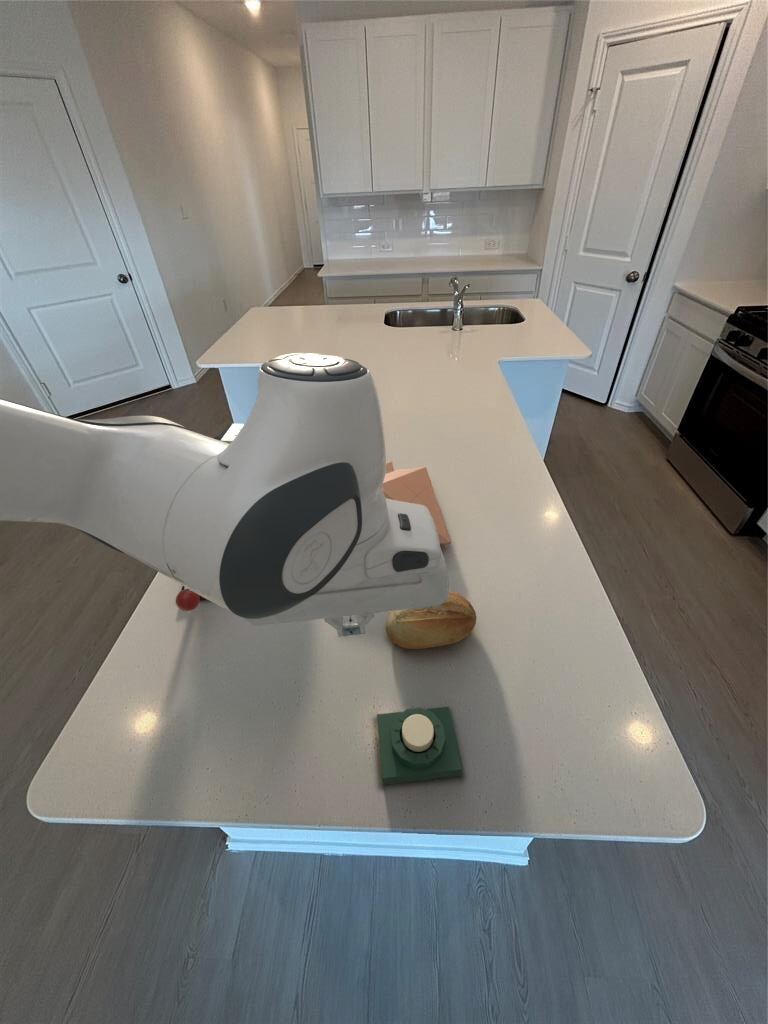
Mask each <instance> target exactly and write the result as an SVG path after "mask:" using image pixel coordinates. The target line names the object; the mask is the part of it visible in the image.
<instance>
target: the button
mask: <svg viewBox="0 0 768 1024" xmlns="http://www.w3.org/2000/svg"><path fill="white" fill-rule="evenodd" d="M433 735H434V728H433V725H432V723H431V721H430V720H429V719H428V718H427V717H425V716H424V715H420V714H414V715H411V716H409V717H408V718H407V719H406V720H405V721H404V723H403V726H402V739H403V742H404V744H405V745H406V747H407V748H409V749H410V750H412V751H415V752H422V751H425V750H427V749H428V748H429V747H430V746H431V744H432V742H433Z"/></svg>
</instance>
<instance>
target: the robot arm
mask: <svg viewBox="0 0 768 1024" xmlns="http://www.w3.org/2000/svg"><path fill="white" fill-rule="evenodd" d="M256 381H257V388H256V389H257V393H256V398H255V400H254V403H253V405H252V407H251V410H250V412H249V415H248V417H247V418H246V420H245V422H244V423H243V424H244V425H243V427H242V428H241V430H240V432H239V433H238V434H237V436H236V437H235V438H234V440H233V441H232V442H231V443H230V444H228V443H225V442H222V441H219V440H216V439H214V438H213V437H210V436H207V435H205V434H201V433H199V432H196V431H195V430H193V429H191V428H189V427H186V426H183V425H182V424H179V423H177V422H176V421H175V422H174V421H172V420H170V419H167V418H164V417H160V416H154V415H128V416H119V417H118V416H117V417H110V418H109V417H108V418H100V419H77V418H72V417H69V416H63V415H61V414H56V413H52V412H49V411H46V410H43V409H39V408H35V407H32V406H28V405H25V404H21V403H18V402H14V401H11V400H6V399H3V398H0V522H22V523H23V522H24V523H46V524H47V523H48V524H59V525H63V526H68V527H71V528H73V529H75V530H77V531H79V533H82V534H84V535H85V536H87V537H88V538H90V539H92V540H94V541H96V542H98V543H100V544H102V545H104V546H105V547H108V548H110V549H113V550H114V551H117V552H119V553H122V554H124V555H127V556H129V557H131V558H133V559H135V560H137V561H138V562H140V563H142V564H144V565H145V566H147V567H148V568H151V569H153V570H154V571H156V572H158V573H160V574H162V575H164V576H165V577H167V578H169V579H170V580H173V581H174V582H176V583H178V584H180V585H182V587H183V586H184V587H186V588H187V589H189V590H191V591H193V592H195V593H196V594H198V595H200V596H202V597H204V598H206V599H207V600H206V601H209V602H211V603H213V604H215V605H217V606H219V607H221V608H223V609H224V610H227V611H229V612H231V613H233V615H235V616H238V617H240V618H242V619H243V620H244V621H245V622H246V623H248V624H250V625H252V626H254V627H261V626H269V625H277V624H285V623H286V624H288V623H295V622H306V621H315V620H324V622H325V623H326V624H328V625H329V626H331V627H332V628H333V629H335V630H336V631H337V636H338V638H343V637H348V636H360V635H366V626H367V625H368V624H369V622H371V620H372V619H373V618H374V617H375V614H376V613H387V612H391V611H396V610H405V609H414V608H423V607H433V606H440V605H441V604H443V603H444V602H445V601H446V600H448V598H449V591H451V590H450V577H449V572H448V569H447V568H448V567H447V564H446V561H445V558H444V557H445V556H444V555H443V552H442V548H441V544H440V542H439V537H438V533H437V529H436V526H435V524H434V521H433V519H432V516H431V514H430V512H429V510H428V508H427V507H425V506H423V505H420V504H414V503H407V502H401V501H396V500H391V499H387V498H385V495H384V493H383V491H382V484H383V481H384V478H385V473H386V462H387V453H386V440H385V438H386V437H385V429H384V428H385V427H384V420H383V414H382V413H383V412H382V406H381V402H380V397H379V393H378V390H377V389H378V388H377V385H376V383H375V379H374V377H373V376H372V373H371V372H370V370H369V369H368V368H367V367H365V366H363V365H362V364H360V362H358V361H355V360H353V359H349V358H345V357H341V356H337V355H331V354H326V353H318V352H316V353H307V352H295V353H294V352H293V353H288V354H282V355H278V356H275V357H272V358H271V359H269V360H267V361H265V362H263V363H262V364H260V366H259V368H258V370H257V380H256Z"/></svg>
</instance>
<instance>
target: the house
mask: <svg viewBox="0 0 768 1024" xmlns="http://www.w3.org/2000/svg"><path fill="white" fill-rule="evenodd" d="M382 491H383V493H384V495H385V498H387V499H391V500H396V501H401V502H407V503H414V504H420V505H423V506H425V507H427V508H428V510H429V512H430V514H431V516H432V519H433V521H434V524H435V526H436V529H437V533H438V537H439V542H440V545H445V544H451V539H450V536H449V533H448V530H447V527H446V524H445V521H444V518H443V515H442V512H441V508H440V506H439V502H438V499H437V496H436V493H435V490H434V488H433V484H432V481H431V479H430V475H429V472H428V468H427V467H426V466H422V467H411V468H400V469H395V468H394V464H393V461H386V473H385V478H384V481H383V484H382Z"/></svg>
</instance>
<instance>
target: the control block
mask: <svg viewBox="0 0 768 1024" xmlns="http://www.w3.org/2000/svg"><path fill="white" fill-rule="evenodd" d="M414 714H420V715H424V716H425V717H427V718H428V719H429V720H430V721H431V723H432V725H433V728H434V735H433V742H432V744H431V746H430V747H429V748H428V749H427V750H425V751H422V752H415V751H412V750H410V749H409V748H407V747H406V745H405V744H404V742H403V739H402V726H403V723H404V721H405V720H406V719H407V718H408V717H409V716H411V715H414ZM376 721H377V732H378V745H379V746H378V747H379V757H380V768H381V769H380V770H381V781H382V782H381V783H382V786H384V785H393V784H394V785H395V784H403V783H412V782H419V781H420V782H421V781H428V780H429V781H430V780H436V779H445V778H446V779H447V778H455V777H462V771H463V766H462V761H461V758H460V757H461V756H460V752H459V748H458V745H457V744H458V743H457V738H456V734H455V733H456V732H455V729H454V728H455V727H454V724H453V720H452V715H451V710H450V707H449V706H442V707H441V706H440V707H434V708H433V707H432V708H423V707H413V708H406V709H405V710H404V711H397V712H386V713H378V714H377V713H376Z"/></svg>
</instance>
